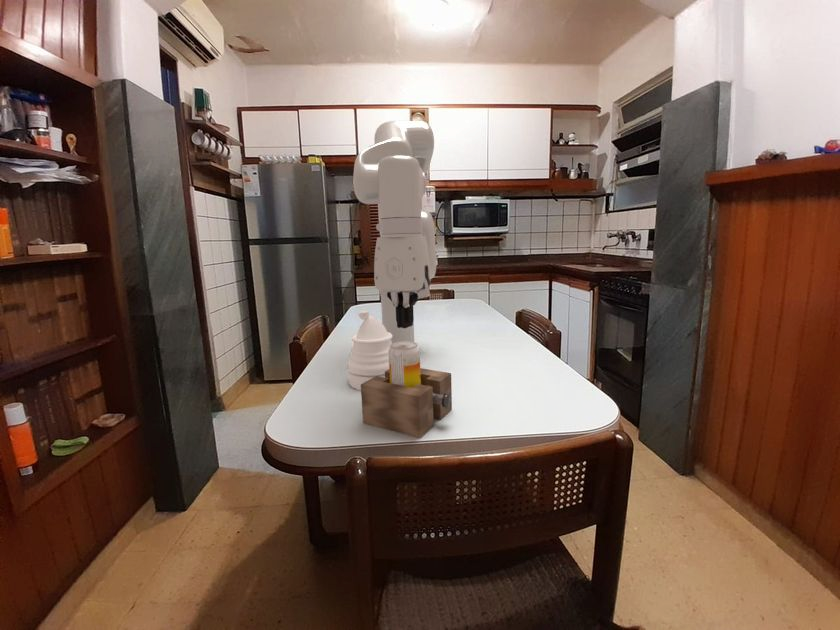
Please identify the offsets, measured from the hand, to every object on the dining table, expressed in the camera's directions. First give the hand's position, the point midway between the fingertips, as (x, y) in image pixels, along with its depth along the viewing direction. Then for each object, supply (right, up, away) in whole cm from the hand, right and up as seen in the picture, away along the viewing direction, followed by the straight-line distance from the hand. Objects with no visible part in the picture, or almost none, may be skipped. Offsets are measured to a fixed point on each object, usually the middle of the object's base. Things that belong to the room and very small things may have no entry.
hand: (405, 326), depth 77 cm
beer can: (0, -18, +4) cm, 19 cm away
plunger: (+6, -15, 0) cm, 16 cm away
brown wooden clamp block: (+1, -18, +4) cm, 19 cm away
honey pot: (-8, -15, +24) cm, 29 cm away
